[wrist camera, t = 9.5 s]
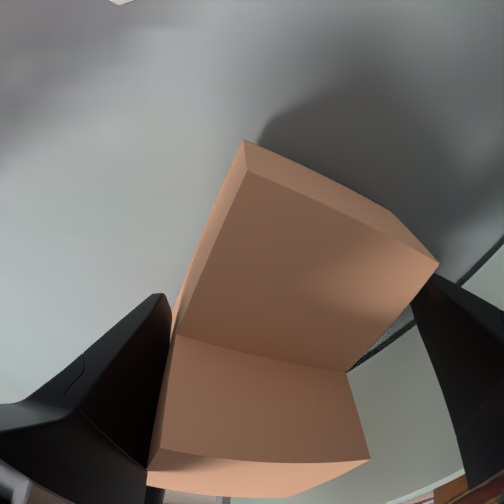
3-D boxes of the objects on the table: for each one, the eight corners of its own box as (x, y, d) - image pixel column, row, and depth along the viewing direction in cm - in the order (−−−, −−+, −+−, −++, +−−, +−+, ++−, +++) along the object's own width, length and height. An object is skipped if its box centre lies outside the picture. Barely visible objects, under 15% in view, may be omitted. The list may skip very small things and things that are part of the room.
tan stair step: (272, 372, 15) (287, 497, 9) (160, 344, 13) (137, 483, 7) (390, 211, 10) (506, 351, 4) (242, 139, 9) (261, 277, 3)
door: (254, 446, 19) (247, 542, 12) (225, 435, 18) (212, 537, 11) (559, 221, 9) (649, 306, 2) (550, 184, 8) (660, 268, 1)
